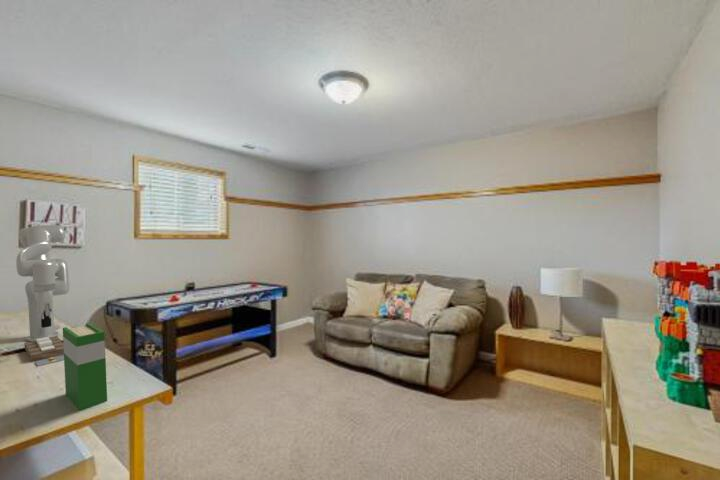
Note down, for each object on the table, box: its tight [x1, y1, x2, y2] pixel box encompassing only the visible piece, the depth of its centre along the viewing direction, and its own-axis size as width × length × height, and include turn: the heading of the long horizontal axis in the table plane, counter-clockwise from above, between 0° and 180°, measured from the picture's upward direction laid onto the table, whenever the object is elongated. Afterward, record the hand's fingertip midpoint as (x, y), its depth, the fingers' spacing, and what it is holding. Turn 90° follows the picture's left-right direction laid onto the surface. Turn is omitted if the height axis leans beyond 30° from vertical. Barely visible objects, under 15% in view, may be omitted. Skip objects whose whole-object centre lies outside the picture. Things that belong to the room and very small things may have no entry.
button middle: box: [38, 340, 52, 348], centre depth 159 cm, size 4×4×2 cm
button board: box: [23, 335, 64, 363], centre depth 159 cm, size 26×12×3 cm, turn 50°
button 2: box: [40, 345, 55, 351], centre depth 155 cm, size 4×4×2 cm
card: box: [34, 355, 64, 367], centre depth 148 cm, size 7×10×1 cm
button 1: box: [36, 337, 50, 344], centre depth 164 cm, size 4×4×2 cm
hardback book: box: [62, 322, 108, 412], centre depth 115 cm, size 18×7×24 cm, turn 53°
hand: (46, 326), depth 155 cm, fingers closed
